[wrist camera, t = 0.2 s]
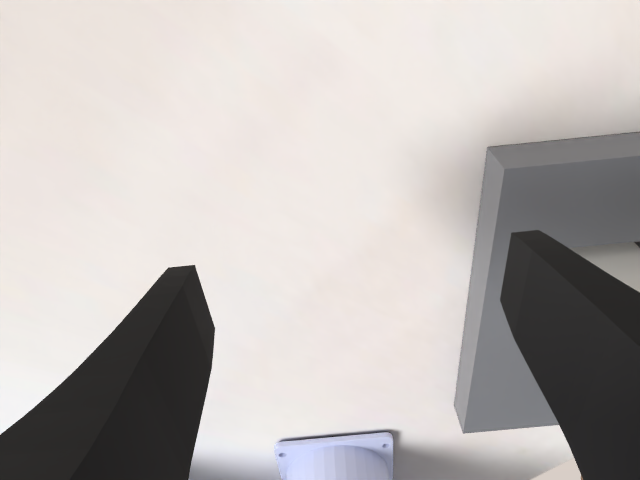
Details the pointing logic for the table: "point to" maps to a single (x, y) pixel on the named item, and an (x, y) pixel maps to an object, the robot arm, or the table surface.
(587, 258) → the plug
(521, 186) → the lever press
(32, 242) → the table surface
